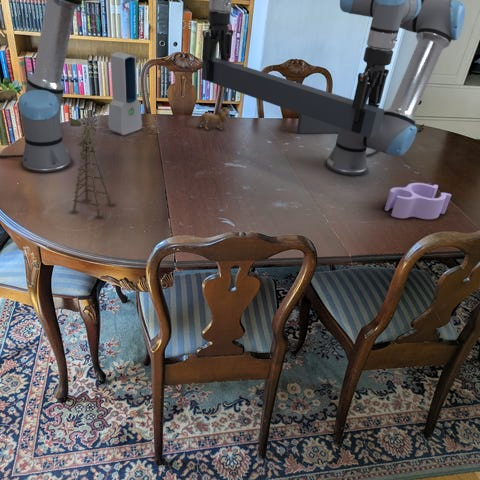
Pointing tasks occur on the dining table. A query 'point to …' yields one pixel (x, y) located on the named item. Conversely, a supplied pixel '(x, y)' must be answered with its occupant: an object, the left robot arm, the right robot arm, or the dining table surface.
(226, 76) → the post
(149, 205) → the dining table surface
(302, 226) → the dining table surface
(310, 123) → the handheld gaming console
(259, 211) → the dining table surface
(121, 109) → the electronic device
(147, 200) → the dining table surface
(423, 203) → the clip
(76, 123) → the miniature windmill
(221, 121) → the lion figurine
